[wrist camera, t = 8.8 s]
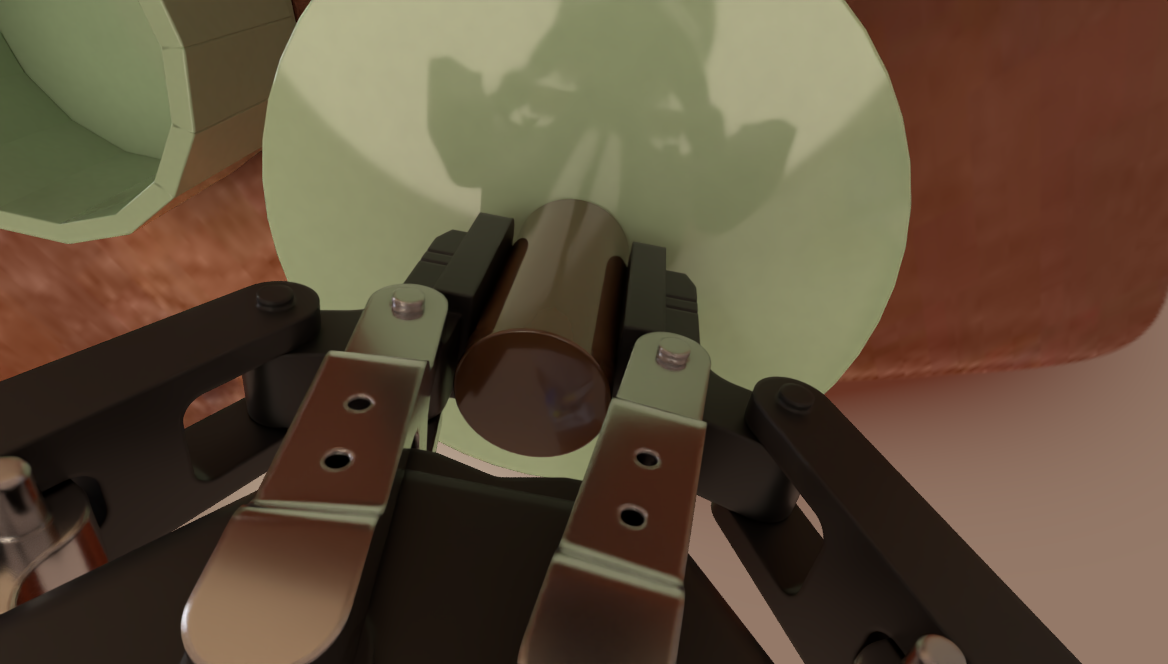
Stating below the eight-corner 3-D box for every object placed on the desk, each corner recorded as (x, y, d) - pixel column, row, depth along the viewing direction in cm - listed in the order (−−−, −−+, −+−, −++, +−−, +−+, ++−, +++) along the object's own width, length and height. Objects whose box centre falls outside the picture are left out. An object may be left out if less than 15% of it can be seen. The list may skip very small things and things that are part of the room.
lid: (914, -224, 11) (1155, -353, 6) (885, 435, 19) (976, 661, 13) (173, -41, 14) (-153, -6, 9) (401, 470, 22) (306, 669, 16)
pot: (199, -245, 23) (19, -303, 16) (349, 148, 30) (261, 213, 23) (-111, -146, 25) (-370, -164, 19) (92, 193, 32) (-49, 263, 26)
